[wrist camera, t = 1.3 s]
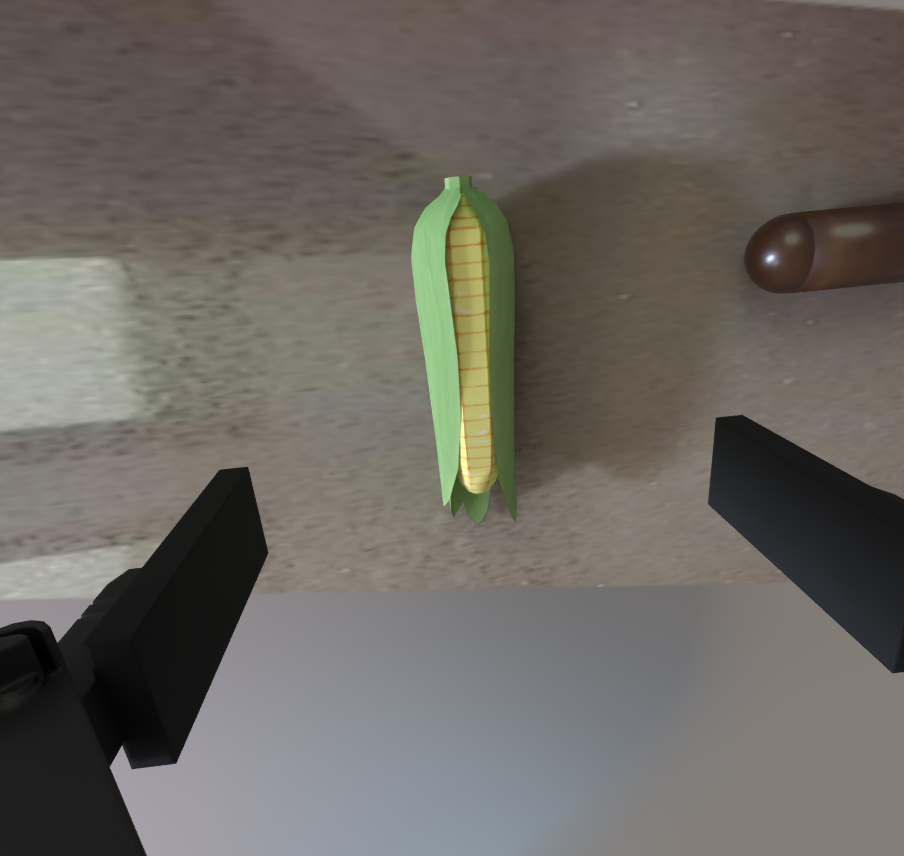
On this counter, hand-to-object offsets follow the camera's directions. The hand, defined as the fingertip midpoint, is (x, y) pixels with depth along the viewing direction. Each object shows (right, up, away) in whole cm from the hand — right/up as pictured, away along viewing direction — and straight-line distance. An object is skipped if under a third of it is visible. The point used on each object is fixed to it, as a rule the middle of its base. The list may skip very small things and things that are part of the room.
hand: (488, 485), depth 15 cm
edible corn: (0, +5, +16) cm, 17 cm away
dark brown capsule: (+21, +12, +15) cm, 29 cm away
